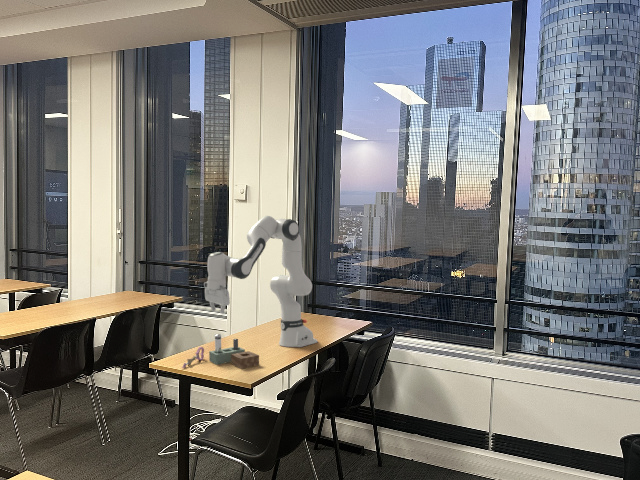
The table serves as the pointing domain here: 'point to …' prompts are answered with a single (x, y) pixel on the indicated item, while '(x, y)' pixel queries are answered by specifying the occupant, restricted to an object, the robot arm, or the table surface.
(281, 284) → the robot arm
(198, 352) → the decorative key
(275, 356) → the table surface
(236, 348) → the dark grey peg
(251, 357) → the socket block
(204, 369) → the table surface
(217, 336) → the metal cylinder rod
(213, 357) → the drill rack
